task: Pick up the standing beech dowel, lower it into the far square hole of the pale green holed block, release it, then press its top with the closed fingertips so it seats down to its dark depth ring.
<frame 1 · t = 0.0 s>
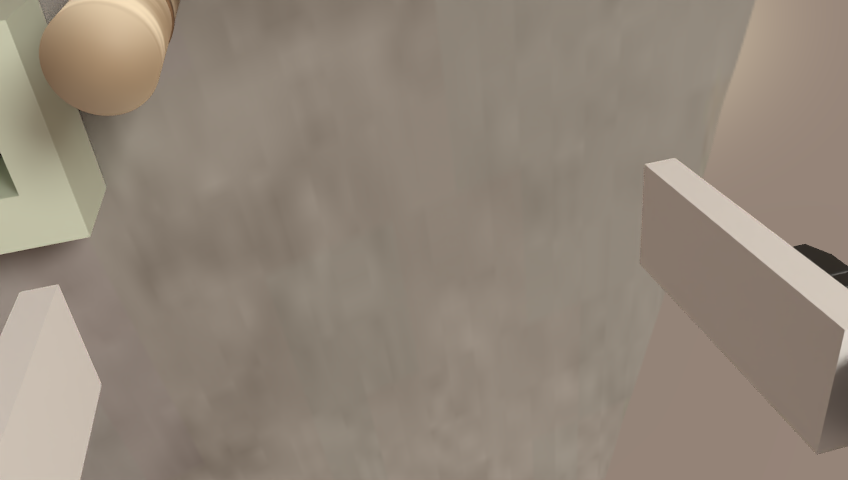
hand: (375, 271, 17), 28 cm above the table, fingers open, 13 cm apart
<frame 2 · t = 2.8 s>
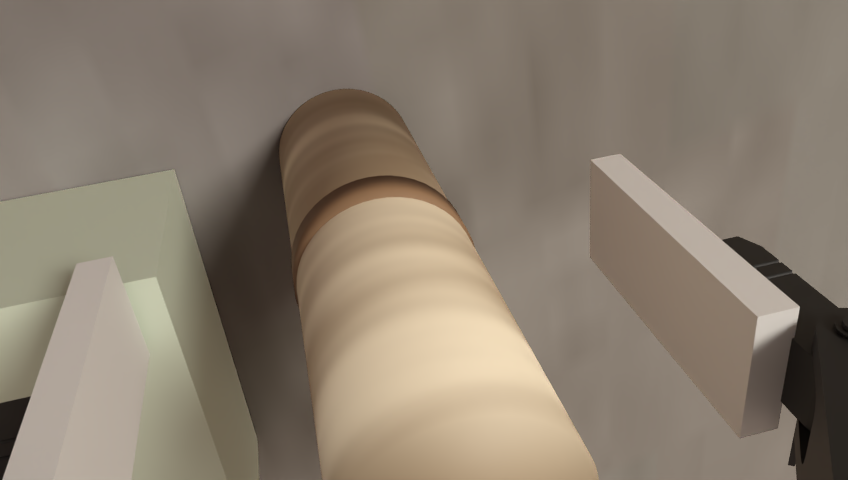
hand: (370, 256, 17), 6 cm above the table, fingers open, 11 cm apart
dowel: (345, 152, 23), on the table
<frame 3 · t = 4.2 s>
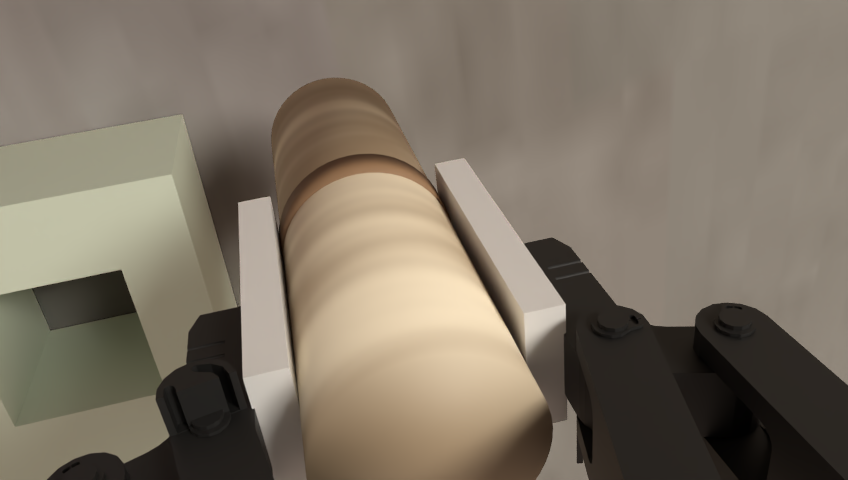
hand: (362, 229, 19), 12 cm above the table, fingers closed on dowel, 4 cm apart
dowel: (335, 139, 24), point 6 cm above the table, touching gripper
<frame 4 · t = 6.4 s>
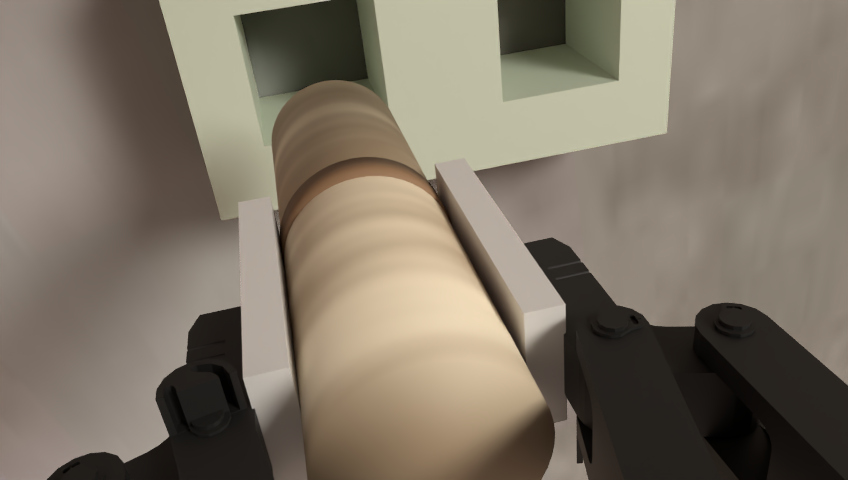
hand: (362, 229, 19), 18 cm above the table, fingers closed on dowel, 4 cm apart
pale green holed block: (410, 15, 35), on the table
dowel: (335, 141, 24), point 12 cm above the table, touching gripper
when the fingers open (6 cm above the table, at t = 8.5 s): dowel stays where it is, resting in pale green holed block.
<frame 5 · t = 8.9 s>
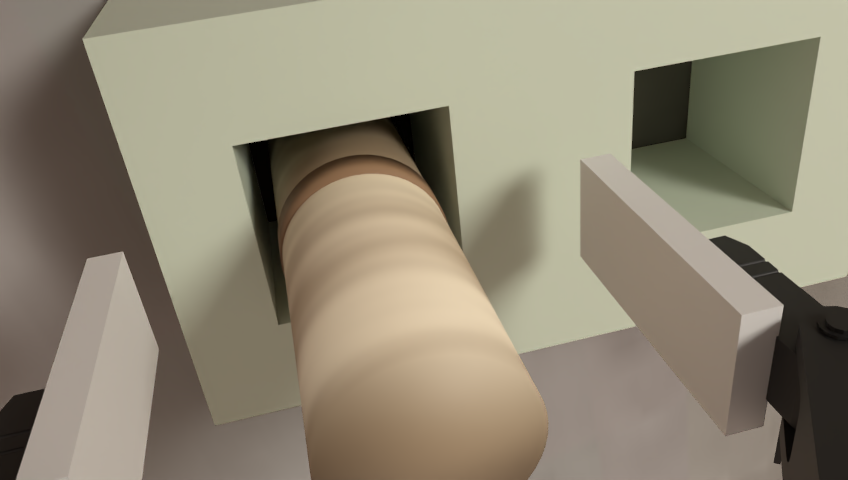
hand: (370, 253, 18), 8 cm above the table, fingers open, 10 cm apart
pale green holed block: (480, 108, 25), on the table
dowel: (330, 137, 24), resting in pale green holed block
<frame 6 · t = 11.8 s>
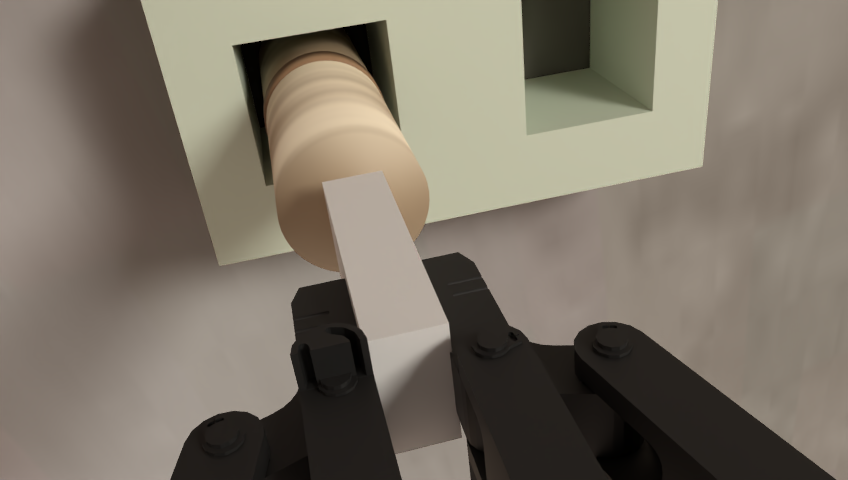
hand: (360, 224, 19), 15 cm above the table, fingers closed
pale green holed block: (423, 39, 32), on the table
dowel: (307, 60, 31), resting in pale green holed block
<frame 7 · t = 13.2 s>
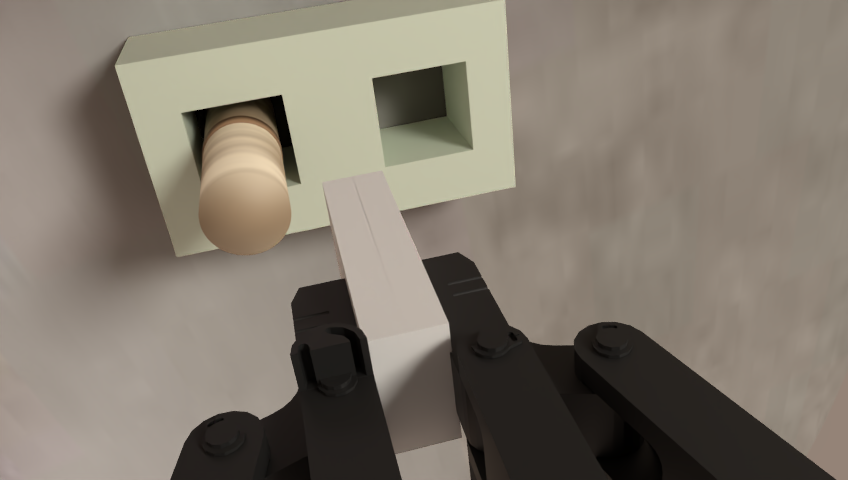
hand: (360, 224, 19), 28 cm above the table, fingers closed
pale green holed block: (323, 99, 46), on the table
dowel: (240, 114, 45), resting in pale green holed block
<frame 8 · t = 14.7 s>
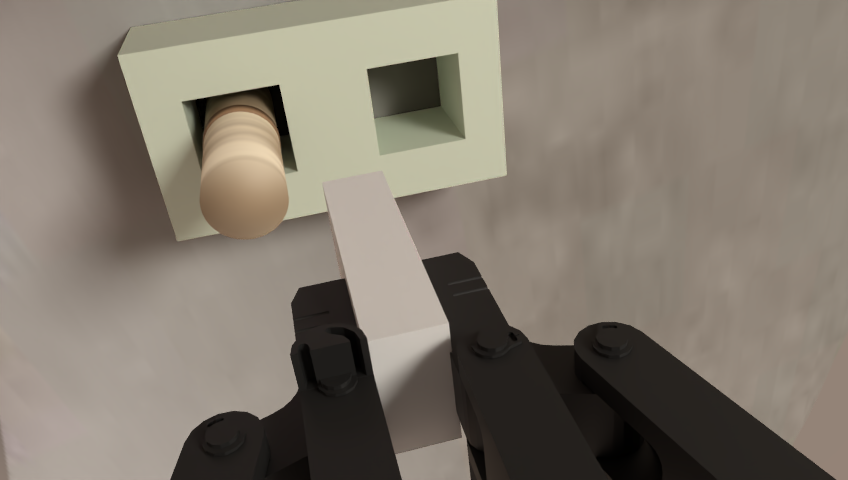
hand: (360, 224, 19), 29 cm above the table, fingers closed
pale green holed block: (320, 88, 47), on the table
dowel: (239, 103, 46), resting in pale green holed block
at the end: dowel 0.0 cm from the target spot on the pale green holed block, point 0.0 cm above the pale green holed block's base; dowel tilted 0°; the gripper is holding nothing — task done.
